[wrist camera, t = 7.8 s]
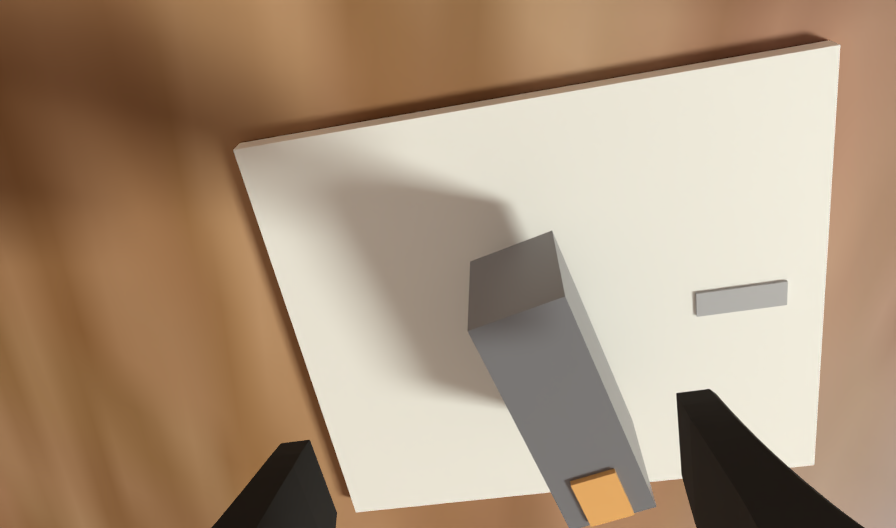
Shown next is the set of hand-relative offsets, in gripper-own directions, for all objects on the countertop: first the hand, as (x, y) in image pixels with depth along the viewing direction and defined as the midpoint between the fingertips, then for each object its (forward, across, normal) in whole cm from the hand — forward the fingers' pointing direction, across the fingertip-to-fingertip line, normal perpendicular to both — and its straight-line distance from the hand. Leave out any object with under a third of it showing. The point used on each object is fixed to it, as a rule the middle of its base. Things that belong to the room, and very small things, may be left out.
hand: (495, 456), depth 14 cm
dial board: (+9, -2, +2) cm, 9 cm away
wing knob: (+8, -2, +2) cm, 8 cm away
